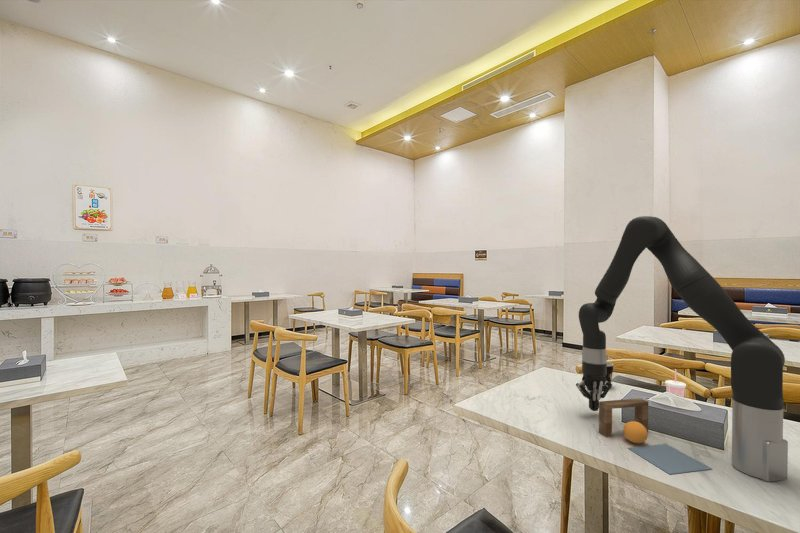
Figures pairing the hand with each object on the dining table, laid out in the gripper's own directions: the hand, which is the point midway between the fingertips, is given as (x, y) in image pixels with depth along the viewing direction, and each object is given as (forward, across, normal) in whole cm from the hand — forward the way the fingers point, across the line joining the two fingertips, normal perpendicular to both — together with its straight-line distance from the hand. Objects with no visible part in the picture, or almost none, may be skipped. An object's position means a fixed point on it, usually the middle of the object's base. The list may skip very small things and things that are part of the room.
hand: (593, 410), depth 125 cm
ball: (-1, -2, -19) cm, 19 cm away
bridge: (+2, 0, -13) cm, 13 cm away
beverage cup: (+2, +35, +1) cm, 35 cm away
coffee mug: (+2, +23, +25) cm, 34 cm away
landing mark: (+2, 0, -28) cm, 28 cm away
